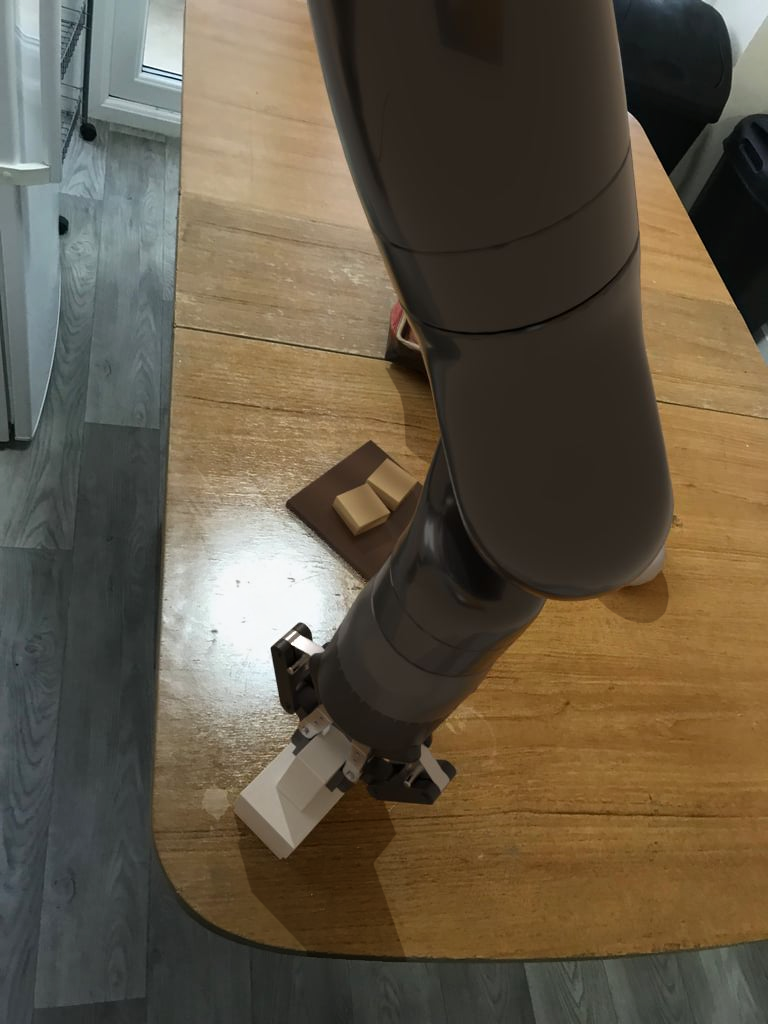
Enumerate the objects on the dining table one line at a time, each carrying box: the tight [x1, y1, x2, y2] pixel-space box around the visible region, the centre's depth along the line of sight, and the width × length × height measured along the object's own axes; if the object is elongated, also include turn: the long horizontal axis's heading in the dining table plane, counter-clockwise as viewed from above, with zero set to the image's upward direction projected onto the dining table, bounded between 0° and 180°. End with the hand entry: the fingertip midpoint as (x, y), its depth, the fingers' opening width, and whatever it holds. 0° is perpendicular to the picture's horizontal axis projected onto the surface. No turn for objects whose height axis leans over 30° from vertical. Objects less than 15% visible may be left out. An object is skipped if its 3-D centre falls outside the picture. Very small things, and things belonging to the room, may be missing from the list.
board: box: [284, 439, 424, 582], centre depth 76 cm, size 12×16×1 cm
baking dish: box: [383, 300, 429, 379], centre depth 90 cm, size 14×18×10 cm
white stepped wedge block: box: [232, 724, 351, 860], centre depth 57 cm, size 5×10×10 cm, turn 141°
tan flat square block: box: [332, 483, 390, 536], centre depth 75 cm, size 4×4×2 cm
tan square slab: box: [365, 458, 419, 511], centre depth 78 cm, size 4×4×2 cm
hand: (321, 763), depth 57 cm, fingers closed on white stepped wedge block, 2 cm apart
